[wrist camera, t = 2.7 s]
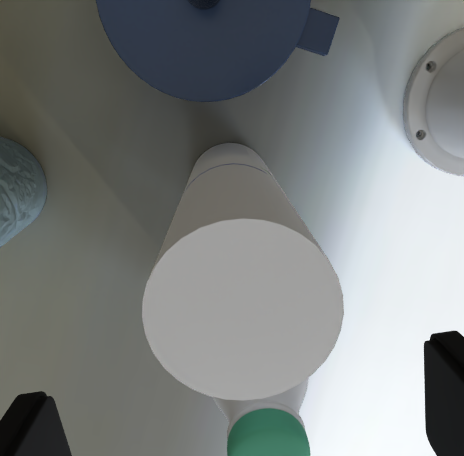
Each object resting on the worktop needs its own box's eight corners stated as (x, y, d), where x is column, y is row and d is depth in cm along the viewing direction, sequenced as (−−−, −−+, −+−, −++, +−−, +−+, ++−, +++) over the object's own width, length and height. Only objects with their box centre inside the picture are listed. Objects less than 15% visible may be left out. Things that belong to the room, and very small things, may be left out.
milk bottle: (237, 346, 44) (251, 537, 25) (192, 290, 42) (169, 450, 23) (301, 306, 43) (366, 474, 24) (258, 247, 41) (291, 377, 22)
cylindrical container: (206, 130, 38) (180, 187, 14) (281, 159, 39) (378, 260, 15) (179, 205, 40) (116, 367, 16) (251, 231, 41) (295, 422, 17)
